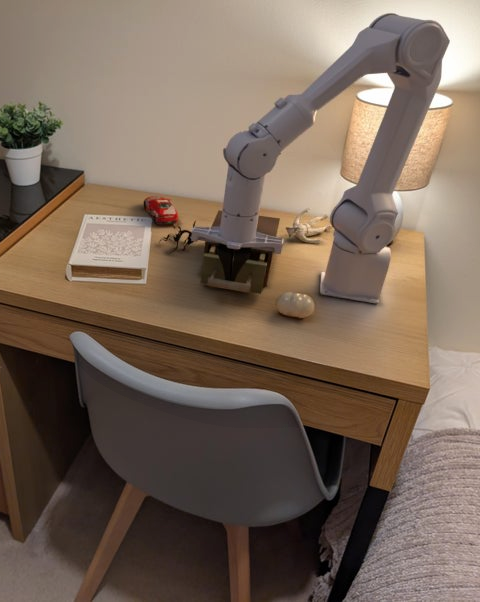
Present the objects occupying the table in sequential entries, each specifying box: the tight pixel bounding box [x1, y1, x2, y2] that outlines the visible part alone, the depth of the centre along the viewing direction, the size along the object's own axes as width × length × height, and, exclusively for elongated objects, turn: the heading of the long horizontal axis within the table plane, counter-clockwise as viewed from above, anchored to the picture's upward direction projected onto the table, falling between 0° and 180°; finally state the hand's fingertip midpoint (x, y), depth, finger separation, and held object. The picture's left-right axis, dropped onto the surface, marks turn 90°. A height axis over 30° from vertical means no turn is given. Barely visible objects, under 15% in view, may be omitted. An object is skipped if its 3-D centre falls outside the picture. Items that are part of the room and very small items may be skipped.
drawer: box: [199, 245, 267, 295], centre depth 102 cm, size 18×11×6 cm, turn 159°
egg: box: [275, 291, 315, 319], centre depth 94 cm, size 6×4×4 cm, turn 69°
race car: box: [143, 195, 179, 226], centre depth 129 cm, size 13×5×4 cm, turn 9°
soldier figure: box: [285, 207, 333, 244], centre depth 118 cm, size 8×5×12 cm
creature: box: [158, 220, 197, 254], centre depth 115 cm, size 8×5×8 cm
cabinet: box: [200, 209, 281, 287], centre depth 108 cm, size 14×12×7 cm
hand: (229, 282), depth 97 cm, fingers closed, pressing on drawer
